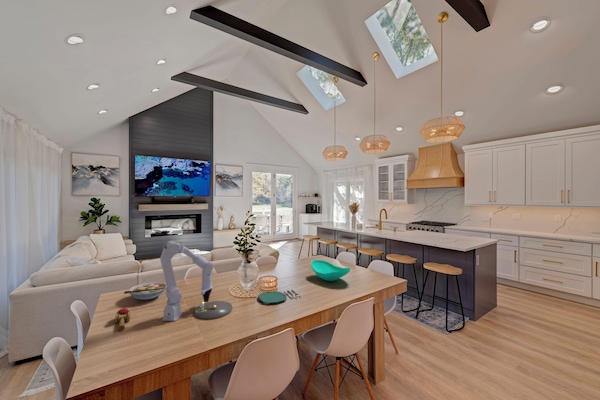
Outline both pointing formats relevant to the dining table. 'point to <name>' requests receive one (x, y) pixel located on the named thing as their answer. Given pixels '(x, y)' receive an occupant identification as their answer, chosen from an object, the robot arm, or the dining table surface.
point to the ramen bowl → (147, 290)
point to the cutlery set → (273, 297)
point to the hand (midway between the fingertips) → (206, 301)
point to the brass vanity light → (206, 308)
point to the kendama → (122, 318)
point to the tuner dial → (214, 310)
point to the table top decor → (328, 270)
